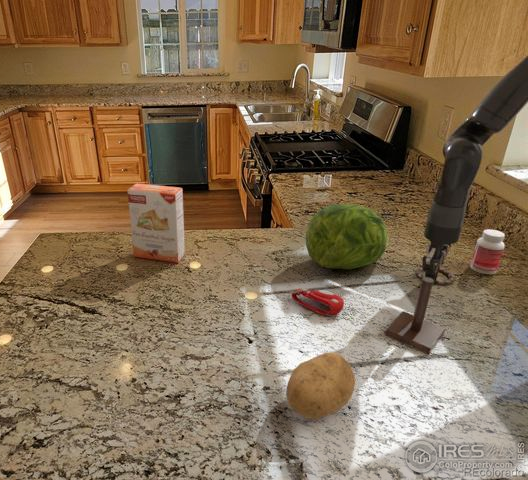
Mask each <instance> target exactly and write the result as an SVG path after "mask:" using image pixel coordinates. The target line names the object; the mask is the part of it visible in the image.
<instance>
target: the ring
mask: <svg viewBox="0 0 528 480" xmlns="http://www.w3.org/2000/svg"><path fill="white" fill-rule="evenodd" d="M423 272H424V271H423V266H420V267H418V268H417V270H416V271H415V274H416V276H417V278H418V279H420V280H422V279H423V278H424V277H425V275H423ZM438 273H442V274H444V276H447V277H448V279H447V280H437V279H436V280H434V284H433V286H434V285H435V286H449V285H452V284H453V283H454V281H455V279H456V278H455V277H454V275H453V273H452V272H450V271H449V270H447V269H445V268H442V267H441V269H440V270H439V272H438Z"/></svg>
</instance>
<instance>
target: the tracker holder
mask: <svg viewBox="0 0 528 480" xmlns="http://www.w3.org/2000/svg"><path fill="white" fill-rule="evenodd" d="M288 295H290V296H291V298H292V300H293V302H296V303H297V304H299V305H300V306H302V307H304V308H306V309H308V310H311V311H313V312H315V313H318V314H319V315H323V316H337V315H339V314H340V313H341V312H342V310H343V309H344V306H345V301H344V298H343V297H342V296H340V295H337V294H336V293H335V292H333V291H330V290H326V289H316V290H315V289H314V290H309V289H308V288H295V289H292V290H291V291H290V292H289V293H288ZM300 296H302V297H303V298H305V299H306V298H307V299H308V300H311V301H314V302H318V303H320V304H323V305H325V306H327V307H329V308H330V309H329V311H327V310H324V309H322V308H319V307H318V306H315V305H312V304H310V303H308V302H307V301H304V300H302V299H301V298H300Z"/></svg>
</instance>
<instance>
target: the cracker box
mask: <svg viewBox="0 0 528 480" xmlns="http://www.w3.org/2000/svg"><path fill="white" fill-rule="evenodd" d="M183 191H184V190H183V188H182V187H177V186H167V185H157V184H147V183H137V182H135V184H133V185H132V186H131V187H129V188H128V189H127V200H128V210H129V220H130V221H129V222H130V230H131V243H132V252H133V257H135V258H141V259H149V260H153V261H154V260H155V261H161V262H167V263H174V264H179V262H180V261H181V260H182V259H183V257H184V256H185V255H186V249H185V247H186V246H185V219H184V196H183V195H184V193H183Z"/></svg>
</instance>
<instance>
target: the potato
mask: <svg viewBox="0 0 528 480" xmlns="http://www.w3.org/2000/svg"><path fill="white" fill-rule="evenodd" d="M355 386H356V376H355V373H354V371H353V369H352V366H351V364H350V362H349V361H348V360H347V359H346V358H344V357H343V355H342V354H339V353H337V352H335V351H332V352H330V351H329V352H324V353H321V354H319V355H316V356H314V357H312V358H310V359H308V360H306V361H305V360H304V361H303V362H301V363H299V364H298V365H297V366H296V367H295V368H294V369H293V370H292V372H291V374H290V377H289V379H288V381H287V385H286V390H285V396H286V401H287V403H288V405H289V407H290V409H291V410H292V411H293V412H295V413H297V414H298V415H300V416H302V417H303V418H307V419H309V420H320V419H322V418H325V417H327V416H329V415H332V414H334V413H337V412H338V411H339V410H341V409H342V408H344V407H346V405H348V404H349V401H350V400H351V398H352V396H353V394H354V392H355V388H356V387H355Z"/></svg>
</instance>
